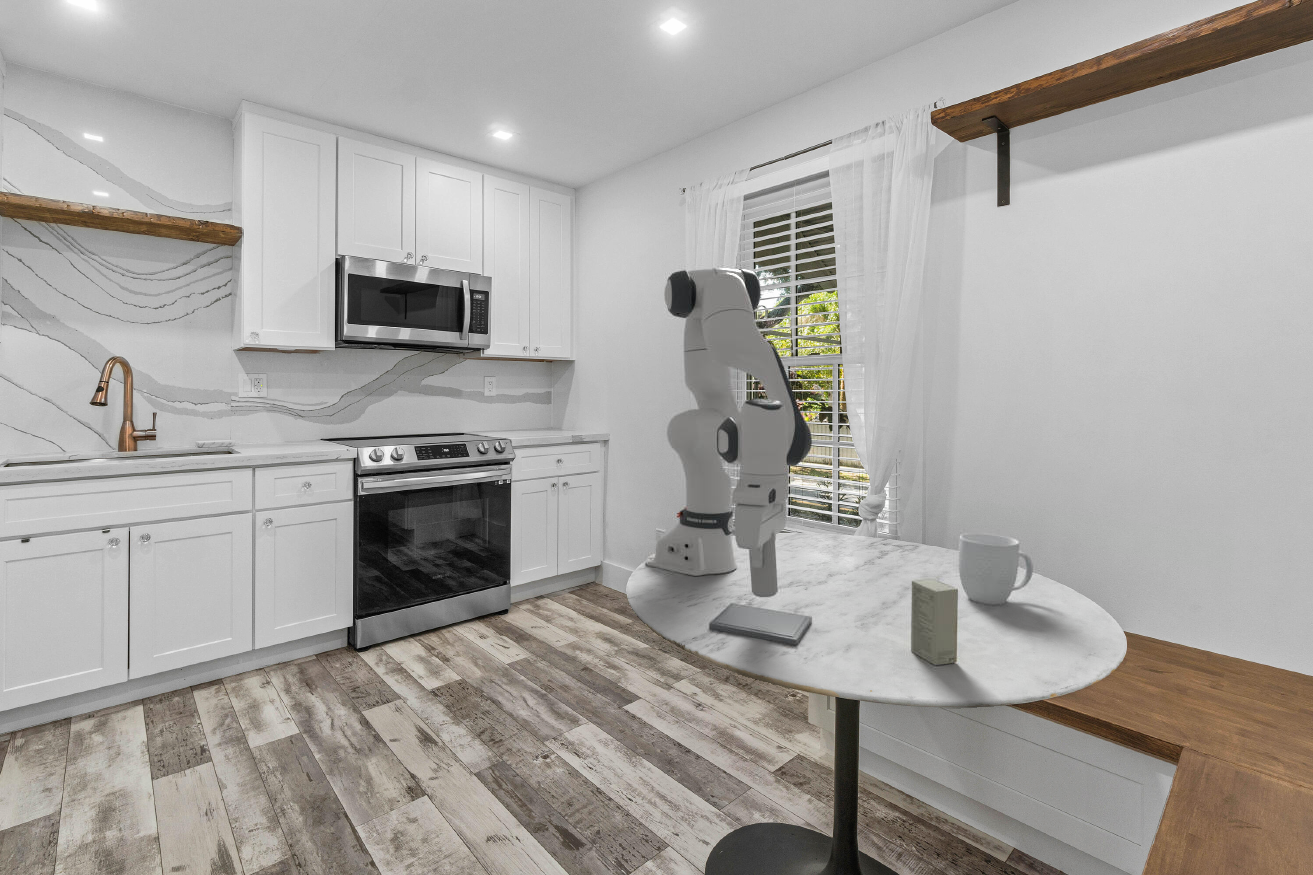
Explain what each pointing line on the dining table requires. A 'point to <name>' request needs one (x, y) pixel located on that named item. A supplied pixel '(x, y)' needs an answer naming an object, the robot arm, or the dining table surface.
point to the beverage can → (765, 571)
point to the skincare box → (934, 621)
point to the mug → (990, 567)
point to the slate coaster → (762, 623)
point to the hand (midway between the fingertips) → (762, 562)
